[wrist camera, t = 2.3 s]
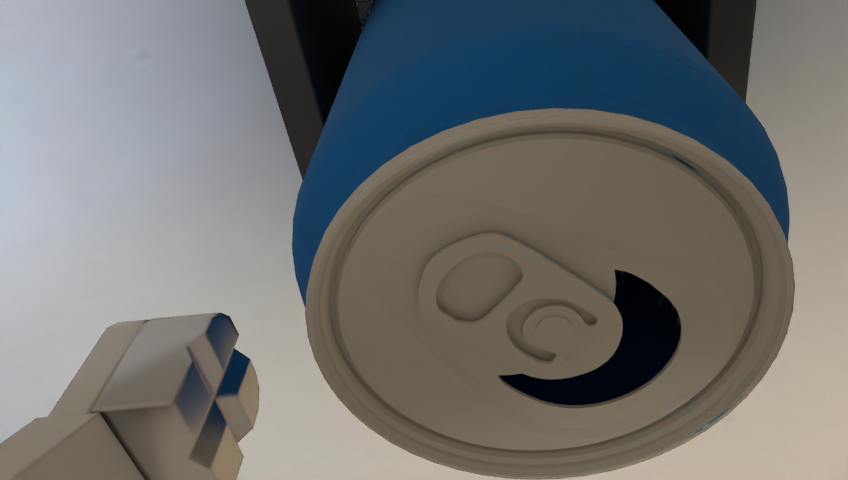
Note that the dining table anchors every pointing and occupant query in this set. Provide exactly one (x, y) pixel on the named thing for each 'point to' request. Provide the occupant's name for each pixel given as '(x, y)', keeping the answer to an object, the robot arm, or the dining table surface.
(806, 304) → the dining table surface
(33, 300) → the dining table surface
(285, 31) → the can holder
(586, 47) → the beverage can
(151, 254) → the dining table surface
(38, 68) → the dining table surface
